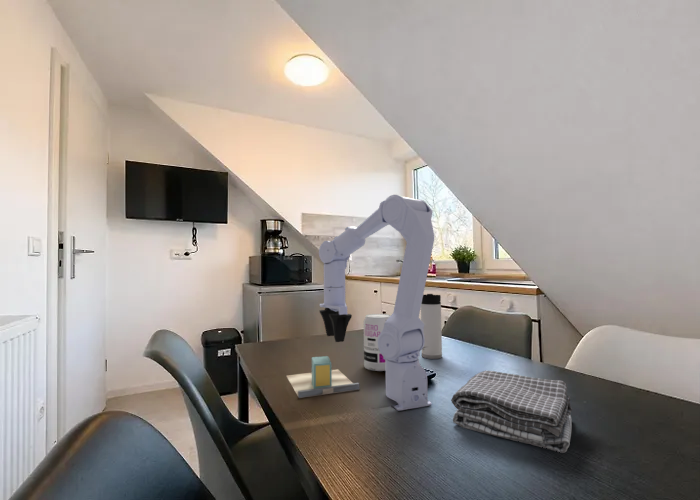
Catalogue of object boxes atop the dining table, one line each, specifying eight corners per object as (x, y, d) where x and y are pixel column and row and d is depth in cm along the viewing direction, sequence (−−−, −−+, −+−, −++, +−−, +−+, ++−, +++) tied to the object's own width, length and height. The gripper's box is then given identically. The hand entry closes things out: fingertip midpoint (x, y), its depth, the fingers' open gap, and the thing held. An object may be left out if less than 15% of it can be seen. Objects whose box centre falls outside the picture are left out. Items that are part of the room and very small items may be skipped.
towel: (475, 401, 76) (474, 364, 76) (576, 423, 65) (574, 380, 65) (450, 428, 63) (449, 384, 64) (569, 461, 53) (567, 408, 53)
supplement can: (393, 365, 101) (392, 313, 102) (394, 374, 93) (393, 318, 93) (365, 365, 102) (364, 313, 102) (363, 374, 94) (362, 317, 94)
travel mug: (420, 358, 108) (419, 293, 109) (422, 353, 114) (421, 292, 115) (441, 360, 106) (440, 294, 107) (442, 354, 112) (441, 292, 113)
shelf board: (359, 393, 80) (359, 384, 80) (299, 402, 75) (299, 392, 75) (337, 373, 95) (337, 364, 95) (286, 379, 90) (286, 370, 90)
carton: (328, 380, 86) (327, 356, 86) (331, 389, 80) (331, 363, 80) (311, 382, 85) (311, 357, 85) (314, 391, 79) (313, 364, 79)
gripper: (313, 285, 98) (313, 334, 98) (327, 289, 85) (328, 345, 84) (337, 285, 101) (337, 332, 100) (355, 288, 87) (355, 343, 87)
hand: (335, 338), depth 92 cm, fingers open, 7 cm apart
